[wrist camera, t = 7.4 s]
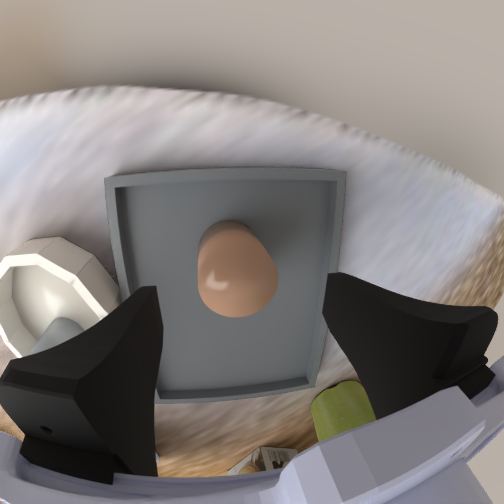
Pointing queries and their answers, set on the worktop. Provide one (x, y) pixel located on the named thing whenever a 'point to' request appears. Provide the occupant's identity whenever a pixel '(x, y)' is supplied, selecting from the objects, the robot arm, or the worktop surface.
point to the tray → (186, 273)
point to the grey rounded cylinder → (57, 334)
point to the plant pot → (341, 409)
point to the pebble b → (235, 270)
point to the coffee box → (264, 460)
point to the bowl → (51, 290)
